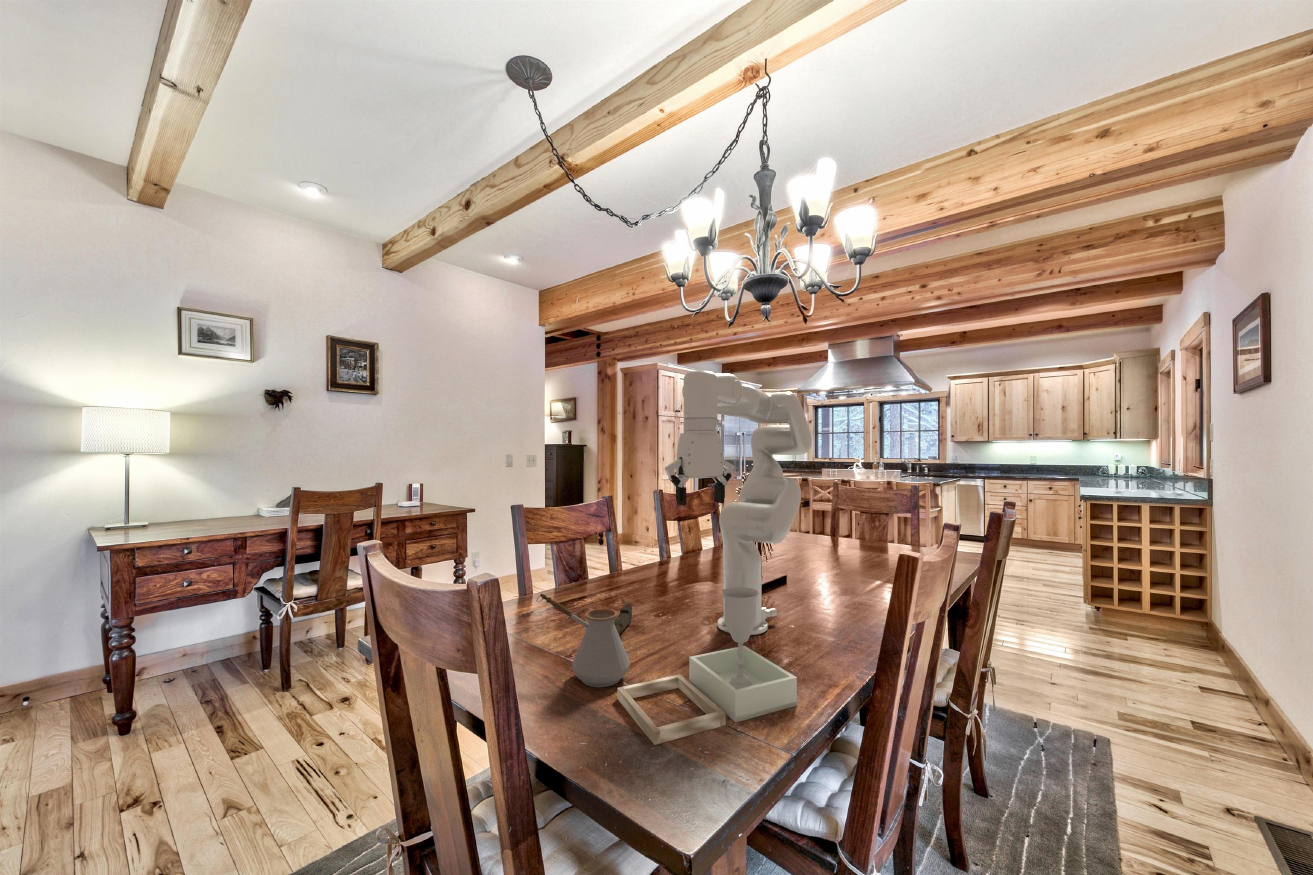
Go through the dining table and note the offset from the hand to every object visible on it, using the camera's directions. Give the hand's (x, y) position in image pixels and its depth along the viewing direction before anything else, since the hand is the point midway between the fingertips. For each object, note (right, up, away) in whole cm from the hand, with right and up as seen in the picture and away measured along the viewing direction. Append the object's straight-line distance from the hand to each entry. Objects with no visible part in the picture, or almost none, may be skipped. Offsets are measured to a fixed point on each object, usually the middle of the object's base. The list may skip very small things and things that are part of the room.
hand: (700, 503), depth 115 cm
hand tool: (-20, -34, +14) cm, 42 cm away
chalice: (+6, -32, -18) cm, 38 cm away
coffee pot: (-25, -33, -10) cm, 43 cm away
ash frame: (-8, -33, -25) cm, 42 cm away
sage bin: (+6, -33, -19) cm, 38 cm away
